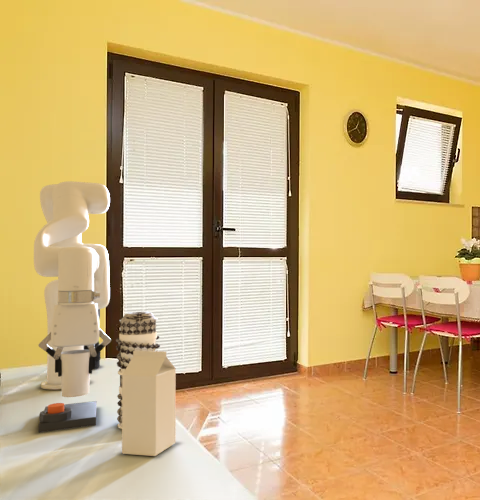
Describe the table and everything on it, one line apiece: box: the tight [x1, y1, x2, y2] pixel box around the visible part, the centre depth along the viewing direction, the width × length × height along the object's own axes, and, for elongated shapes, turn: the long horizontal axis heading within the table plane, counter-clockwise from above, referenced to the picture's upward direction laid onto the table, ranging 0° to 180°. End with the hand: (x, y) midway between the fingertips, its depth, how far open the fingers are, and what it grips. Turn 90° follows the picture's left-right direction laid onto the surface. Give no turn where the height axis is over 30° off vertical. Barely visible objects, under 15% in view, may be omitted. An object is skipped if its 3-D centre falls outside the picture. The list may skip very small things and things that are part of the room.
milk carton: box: [121, 350, 177, 457], centre depth 100 cm, size 7×7×19 cm
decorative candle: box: [115, 311, 161, 430], centre depth 116 cm, size 9×9×25 cm
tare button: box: [47, 402, 65, 414], centre depth 114 cm, size 3×3×2 cm
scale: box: [38, 400, 98, 433], centre depth 119 cm, size 15×11×4 cm
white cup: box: [60, 350, 91, 398], centre depth 122 cm, size 7×7×10 cm
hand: (75, 373), depth 122 cm, fingers closed on white cup, 5 cm apart
